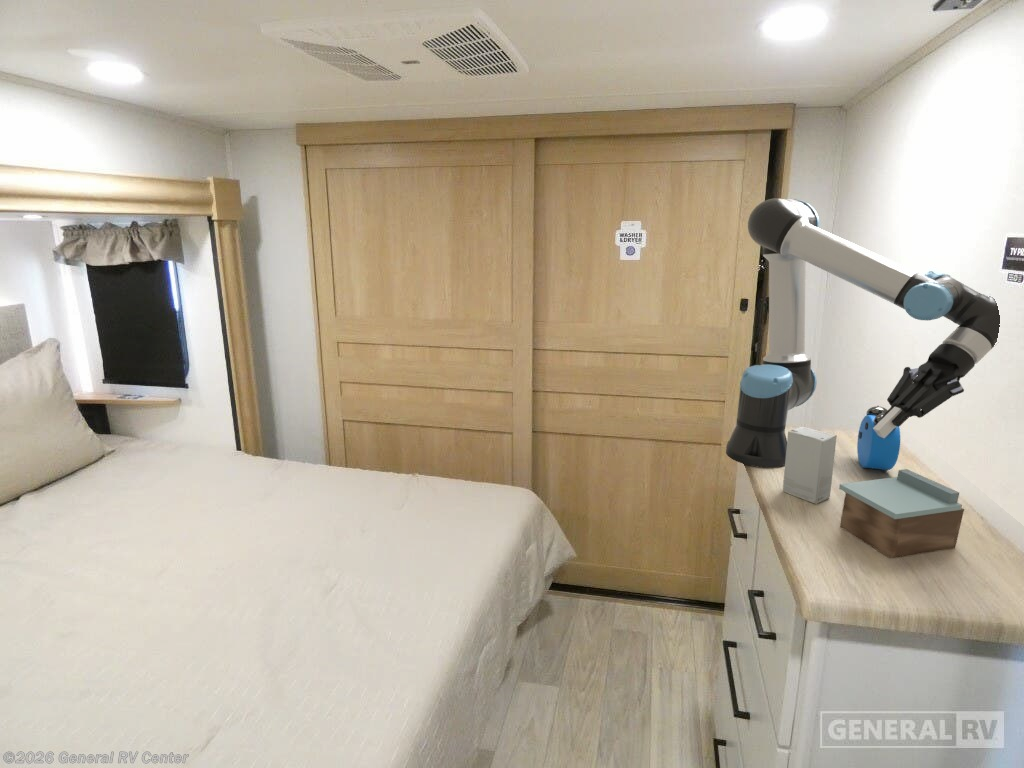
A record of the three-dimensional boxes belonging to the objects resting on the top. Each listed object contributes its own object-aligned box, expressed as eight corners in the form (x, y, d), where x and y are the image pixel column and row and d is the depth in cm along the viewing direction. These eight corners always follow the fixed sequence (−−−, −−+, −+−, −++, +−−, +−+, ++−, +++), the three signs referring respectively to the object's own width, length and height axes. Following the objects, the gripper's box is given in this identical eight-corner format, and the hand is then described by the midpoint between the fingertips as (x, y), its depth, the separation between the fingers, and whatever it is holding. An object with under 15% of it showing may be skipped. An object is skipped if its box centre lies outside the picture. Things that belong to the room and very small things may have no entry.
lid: (839, 488, 116) (841, 474, 116) (900, 481, 120) (902, 467, 119) (894, 519, 105) (898, 503, 104) (960, 509, 108) (964, 494, 108)
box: (839, 526, 119) (846, 490, 117) (899, 518, 122) (906, 482, 120) (890, 558, 107) (898, 518, 105) (955, 548, 111) (964, 509, 109)
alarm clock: (894, 479, 141) (906, 419, 137) (865, 476, 143) (876, 417, 139) (879, 459, 153) (889, 403, 149) (852, 456, 155) (862, 401, 151)
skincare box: (830, 498, 131) (840, 435, 127) (814, 505, 128) (825, 440, 124) (794, 485, 138) (803, 424, 134) (779, 491, 134) (787, 429, 130)
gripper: (995, 373, 121) (912, 455, 121) (937, 358, 133) (861, 433, 133) (982, 349, 118) (897, 433, 119) (923, 335, 130) (846, 412, 131)
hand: (878, 433), depth 126 cm, fingers closed
